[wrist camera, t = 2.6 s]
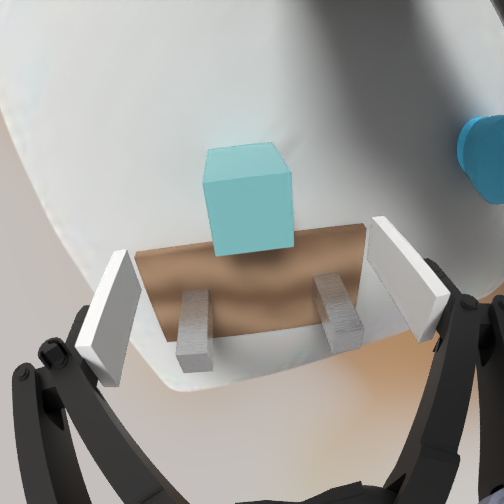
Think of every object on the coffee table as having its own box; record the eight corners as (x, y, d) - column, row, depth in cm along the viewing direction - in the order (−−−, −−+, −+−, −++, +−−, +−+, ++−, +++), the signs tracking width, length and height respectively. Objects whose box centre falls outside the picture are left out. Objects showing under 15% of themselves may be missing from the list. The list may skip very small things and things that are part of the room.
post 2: (312, 275, 31) (335, 335, 24) (337, 271, 31) (364, 329, 24) (312, 294, 32) (332, 354, 26) (335, 291, 32) (359, 348, 26)
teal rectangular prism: (207, 149, 24) (202, 182, 18) (272, 142, 24) (291, 172, 18) (216, 207, 27) (215, 256, 21) (276, 199, 27) (293, 246, 21)
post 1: (182, 291, 30) (175, 355, 24) (208, 288, 31) (206, 352, 24) (188, 310, 32) (183, 372, 25) (212, 307, 32) (212, 370, 25)
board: (136, 252, 29) (134, 257, 28) (362, 223, 29) (366, 228, 28) (168, 335, 35) (167, 341, 34) (351, 311, 36) (353, 317, 35)
